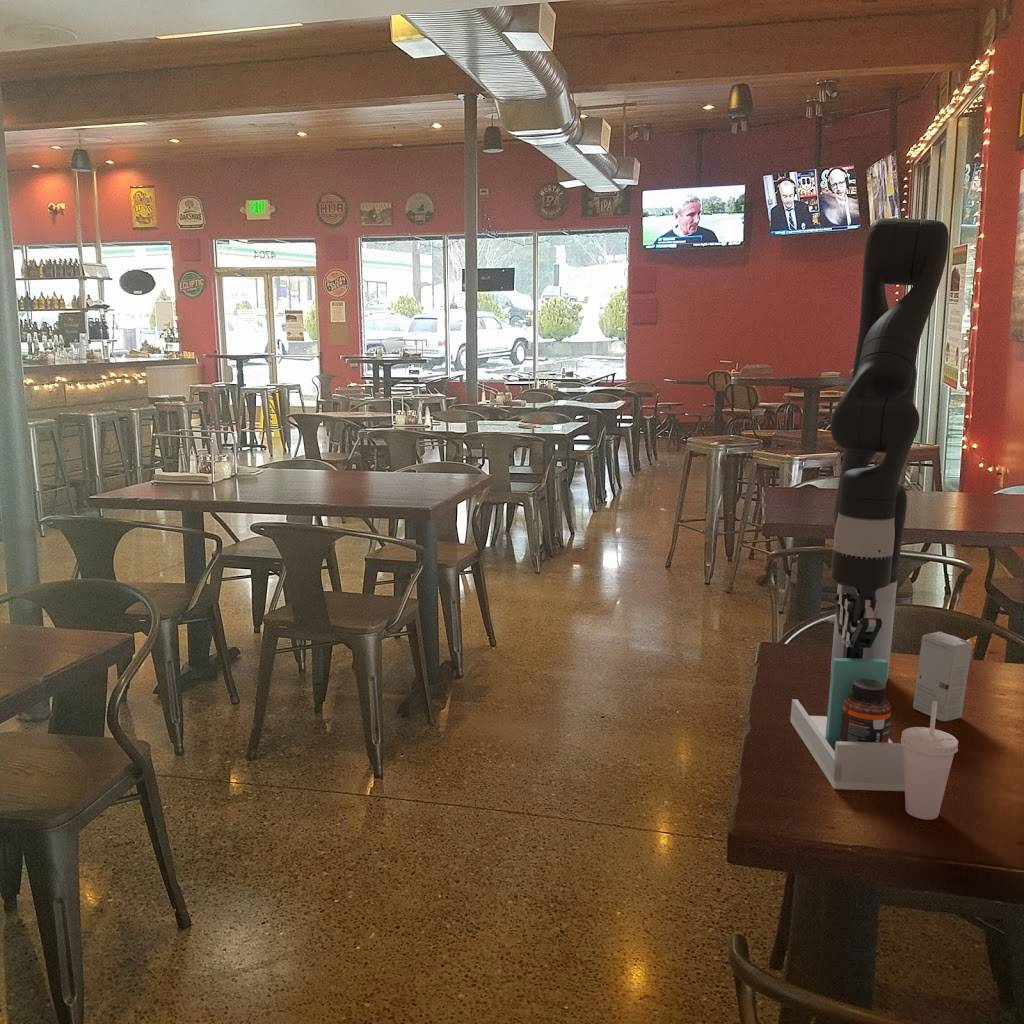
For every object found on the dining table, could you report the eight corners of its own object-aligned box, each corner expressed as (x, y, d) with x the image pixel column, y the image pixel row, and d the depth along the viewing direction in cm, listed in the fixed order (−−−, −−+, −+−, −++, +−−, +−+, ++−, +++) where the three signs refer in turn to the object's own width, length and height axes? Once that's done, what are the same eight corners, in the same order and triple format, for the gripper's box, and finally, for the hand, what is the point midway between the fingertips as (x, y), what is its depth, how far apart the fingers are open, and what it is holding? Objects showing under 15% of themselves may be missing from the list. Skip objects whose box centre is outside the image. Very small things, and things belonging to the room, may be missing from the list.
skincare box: (911, 709, 154) (918, 633, 152) (931, 704, 156) (939, 630, 154) (944, 723, 149) (953, 645, 146) (965, 718, 151) (973, 641, 149)
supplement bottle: (888, 778, 128) (897, 694, 125) (840, 772, 129) (847, 689, 127) (882, 758, 133) (890, 678, 131) (835, 753, 135) (842, 673, 132)
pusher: (824, 749, 135) (832, 657, 133) (876, 751, 135) (885, 659, 133) (826, 753, 134) (834, 660, 132) (879, 754, 134) (888, 662, 131)
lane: (790, 721, 148) (793, 683, 147) (855, 723, 148) (858, 685, 147) (834, 788, 126) (838, 744, 125) (910, 791, 126) (914, 746, 125)
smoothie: (958, 812, 121) (970, 702, 118) (939, 830, 116) (952, 717, 114) (905, 794, 125) (916, 689, 123) (885, 812, 120) (896, 702, 118)
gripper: (909, 561, 125) (896, 691, 129) (874, 537, 138) (863, 656, 142) (850, 559, 125) (838, 689, 129) (820, 536, 138) (810, 654, 142)
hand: (851, 671), depth 135 cm, fingers closed
